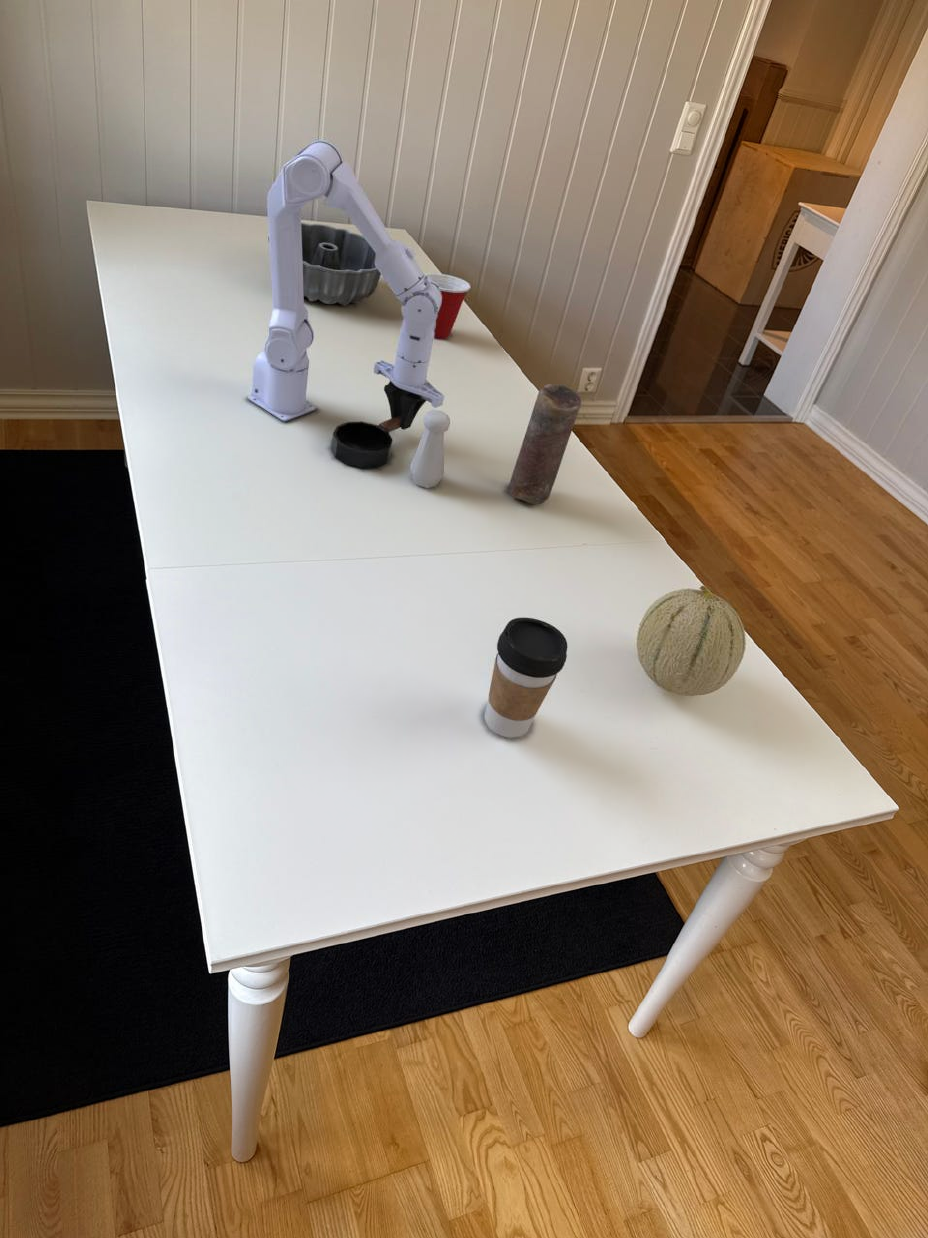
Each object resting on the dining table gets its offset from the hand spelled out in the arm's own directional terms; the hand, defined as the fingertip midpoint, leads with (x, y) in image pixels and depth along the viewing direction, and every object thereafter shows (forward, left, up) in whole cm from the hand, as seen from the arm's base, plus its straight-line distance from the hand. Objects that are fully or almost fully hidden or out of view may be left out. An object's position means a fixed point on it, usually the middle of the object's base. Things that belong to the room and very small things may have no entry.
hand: (401, 424), depth 159 cm
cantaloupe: (+67, -17, -2) cm, 69 cm away
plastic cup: (-24, +41, -2) cm, 48 cm away
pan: (0, -7, -2) cm, 7 cm away
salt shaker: (+13, -8, -2) cm, 15 cm away
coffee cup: (+55, -42, -2) cm, 69 cm away
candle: (+27, +4, -2) cm, 27 cm away
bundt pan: (-52, +34, -2) cm, 63 cm away
